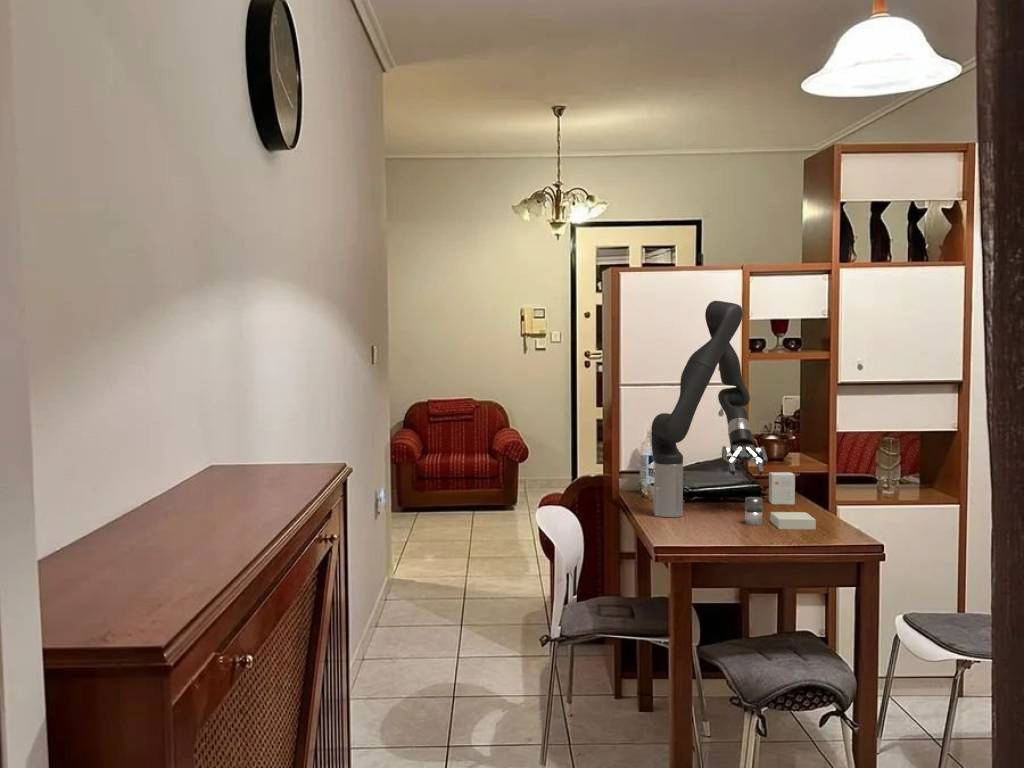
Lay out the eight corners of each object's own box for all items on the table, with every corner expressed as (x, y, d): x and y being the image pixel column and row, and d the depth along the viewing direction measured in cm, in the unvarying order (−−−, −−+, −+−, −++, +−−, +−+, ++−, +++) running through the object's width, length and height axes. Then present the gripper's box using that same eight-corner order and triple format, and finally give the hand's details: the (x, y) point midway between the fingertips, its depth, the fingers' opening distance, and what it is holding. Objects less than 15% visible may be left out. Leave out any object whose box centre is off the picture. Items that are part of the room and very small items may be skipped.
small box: (791, 501, 319) (792, 472, 319) (795, 504, 314) (795, 474, 313) (768, 501, 320) (768, 471, 320) (771, 504, 315) (771, 474, 314)
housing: (746, 525, 281) (747, 499, 281) (743, 521, 286) (743, 496, 286) (763, 525, 281) (764, 500, 280) (760, 522, 286) (760, 496, 285)
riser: (778, 529, 276) (779, 519, 276) (770, 521, 287) (770, 512, 286) (815, 529, 275) (815, 519, 275) (805, 521, 286) (805, 512, 286)
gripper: (720, 427, 302) (726, 467, 291) (763, 427, 301) (771, 467, 290) (717, 441, 307) (723, 480, 296) (759, 441, 307) (767, 480, 296)
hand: (747, 473), depth 293 cm, fingers open, 8 cm apart
